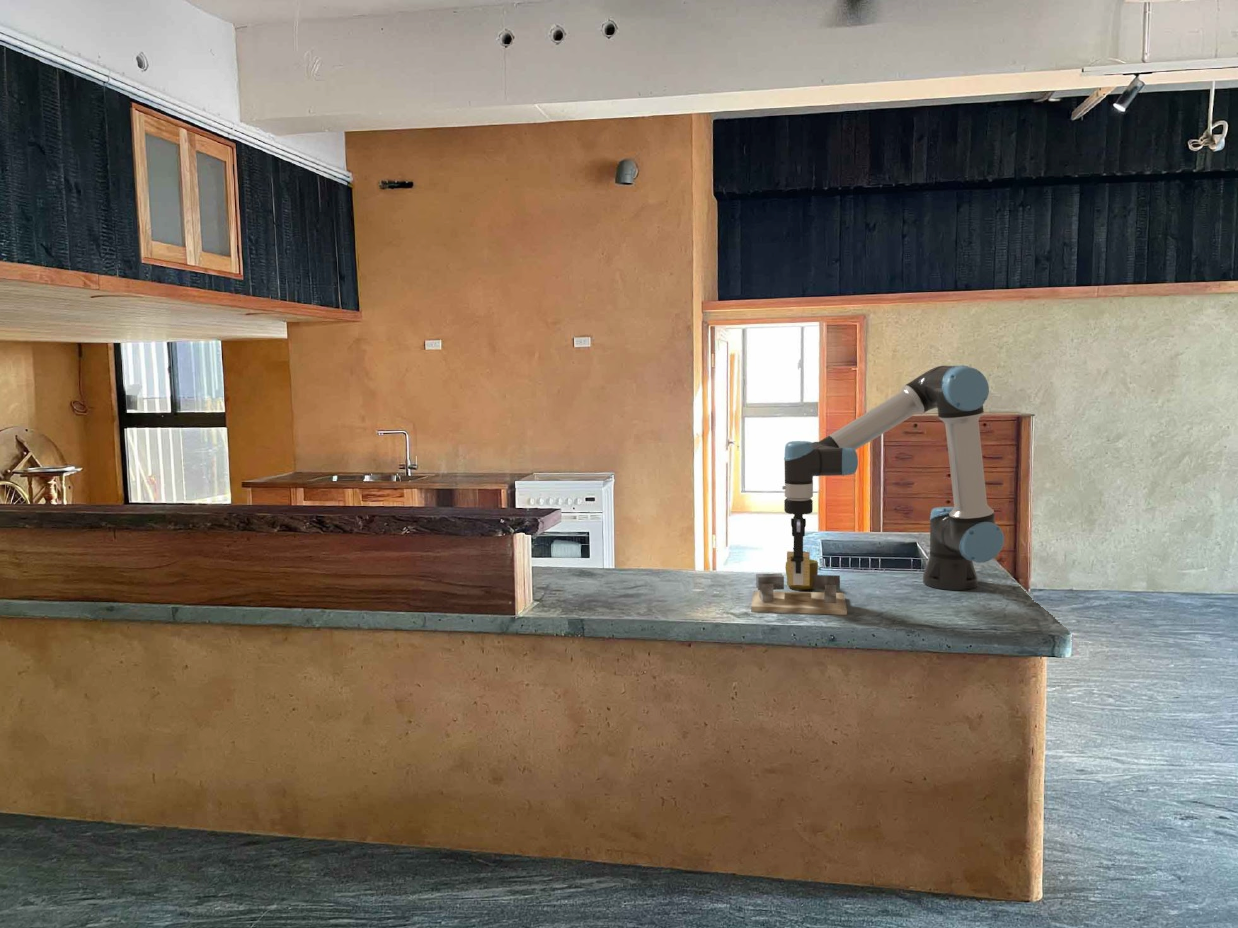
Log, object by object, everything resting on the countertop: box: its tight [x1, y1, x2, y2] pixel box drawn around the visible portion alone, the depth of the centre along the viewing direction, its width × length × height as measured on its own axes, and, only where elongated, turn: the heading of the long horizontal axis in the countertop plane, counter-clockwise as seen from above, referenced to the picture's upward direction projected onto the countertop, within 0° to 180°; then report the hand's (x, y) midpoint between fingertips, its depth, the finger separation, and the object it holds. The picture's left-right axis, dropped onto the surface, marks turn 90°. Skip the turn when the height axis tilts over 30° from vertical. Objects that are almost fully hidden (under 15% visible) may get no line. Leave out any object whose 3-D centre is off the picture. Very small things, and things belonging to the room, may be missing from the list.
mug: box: [785, 559, 819, 591], centre depth 265 cm, size 12×10×10 cm
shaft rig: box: [750, 572, 848, 616], centre depth 246 cm, size 25×16×8 cm, turn 79°
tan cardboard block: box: [786, 550, 810, 586], centre depth 245 cm, size 6×6×8 cm
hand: (798, 581), depth 246 cm, fingers closed on tan cardboard block, 6 cm apart
